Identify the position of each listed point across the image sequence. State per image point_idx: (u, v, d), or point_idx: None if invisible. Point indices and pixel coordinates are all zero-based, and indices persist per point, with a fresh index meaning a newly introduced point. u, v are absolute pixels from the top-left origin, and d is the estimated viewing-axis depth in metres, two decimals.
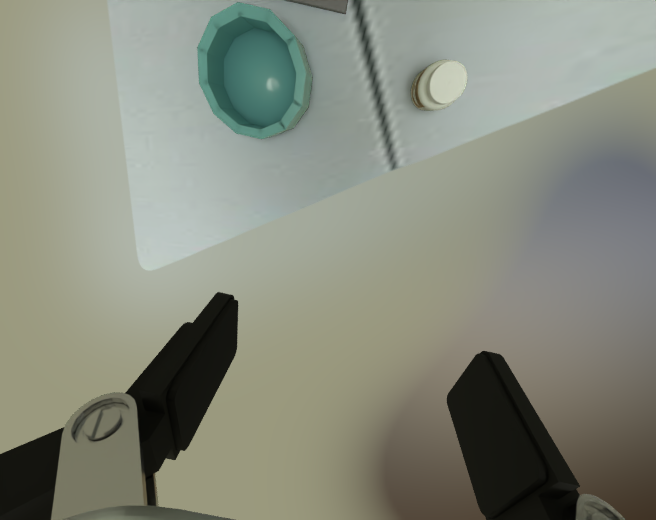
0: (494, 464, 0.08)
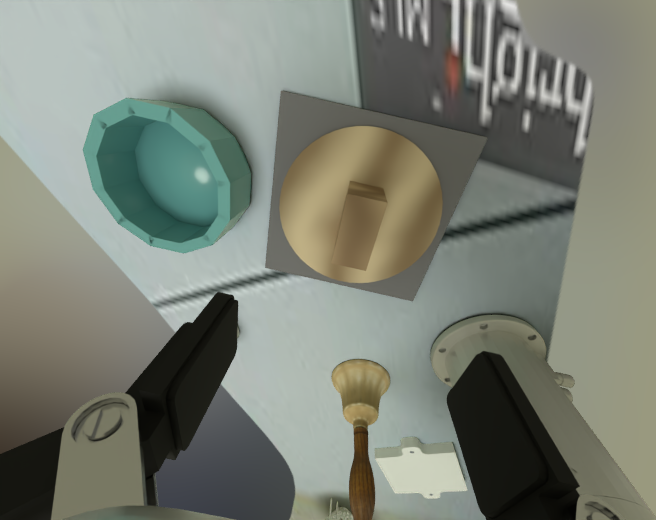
0: (494, 465, 0.08)
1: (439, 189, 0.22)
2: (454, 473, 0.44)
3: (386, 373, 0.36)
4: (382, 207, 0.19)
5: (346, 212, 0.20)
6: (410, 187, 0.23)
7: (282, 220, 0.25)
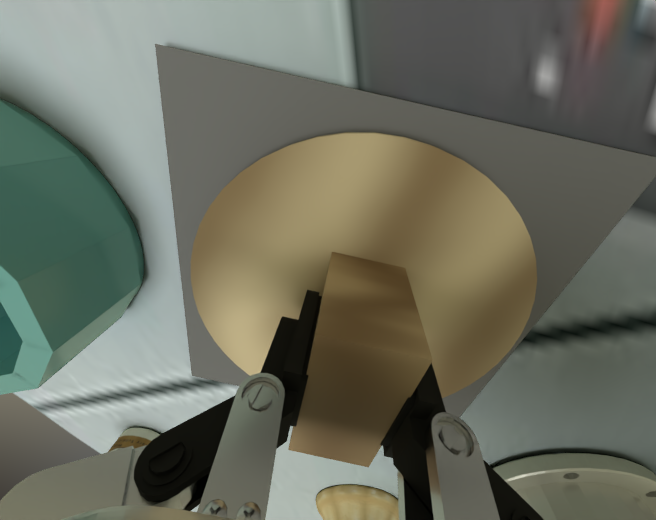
0: None
1: (532, 274, 0.10)
2: None
3: None
4: (417, 369, 0.07)
5: (316, 371, 0.07)
6: (466, 268, 0.10)
7: (203, 315, 0.13)
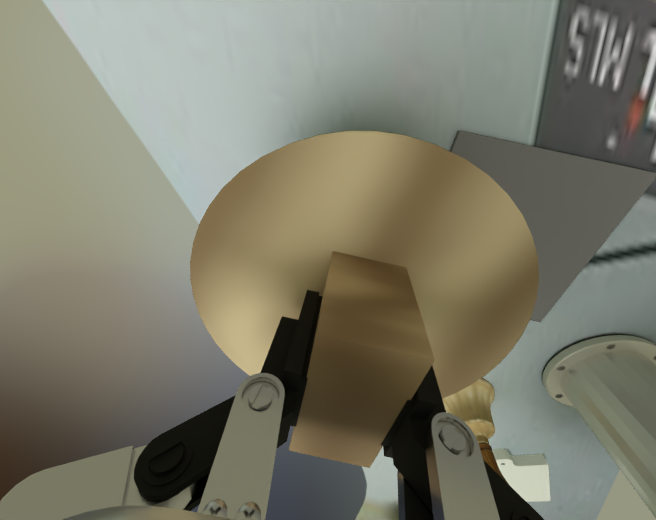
0: None
1: (534, 273, 0.10)
2: (541, 484, 0.45)
3: (493, 388, 0.36)
4: (418, 369, 0.07)
5: (317, 371, 0.07)
6: (468, 267, 0.10)
7: (203, 315, 0.13)
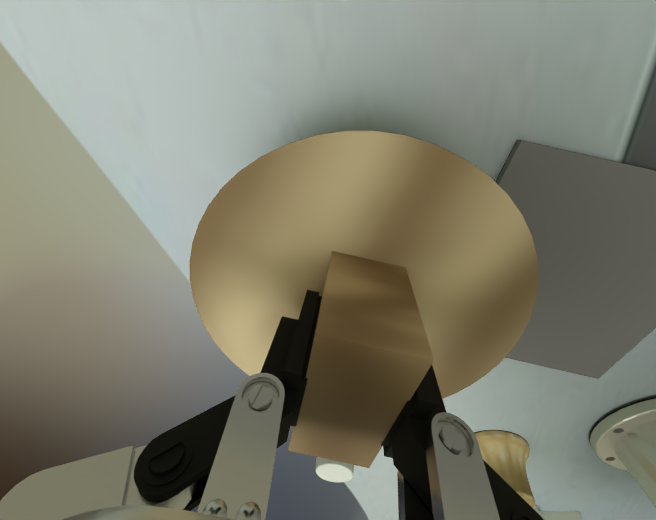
0: None
1: (534, 273, 0.10)
2: None
3: (528, 446, 0.30)
4: (418, 368, 0.07)
5: (315, 371, 0.07)
6: (467, 267, 0.10)
7: (203, 315, 0.13)
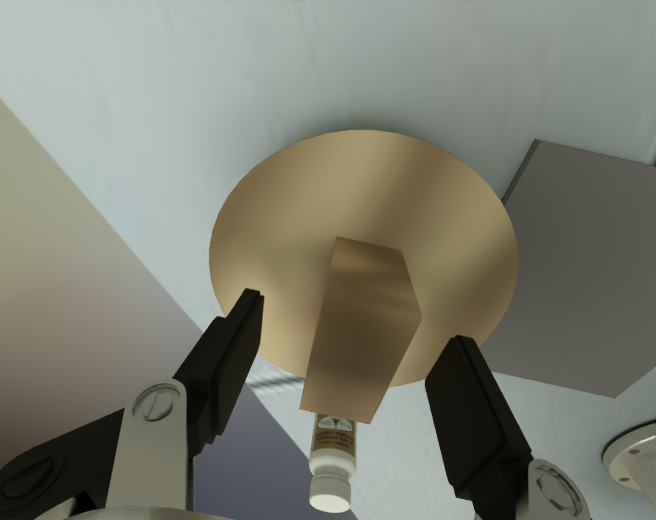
0: (460, 437, 0.08)
1: (514, 254, 0.11)
2: None
3: None
4: (409, 326, 0.08)
5: (324, 330, 0.08)
6: (455, 249, 0.11)
7: (219, 298, 0.14)
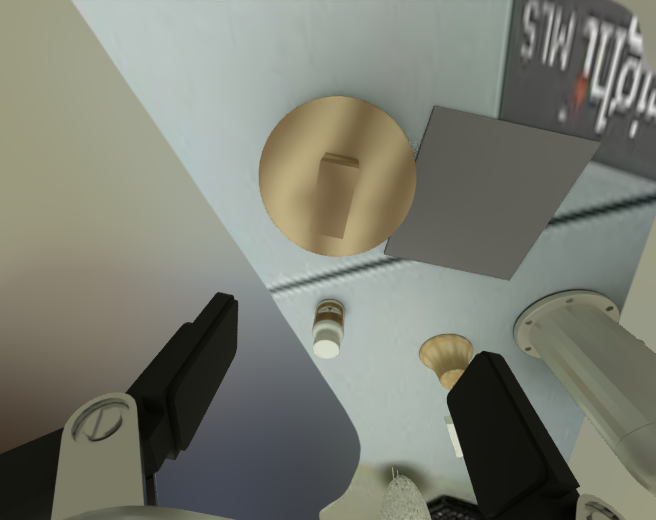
0: (493, 464, 0.08)
1: (412, 158, 0.23)
2: None
3: (471, 345, 0.41)
4: (354, 173, 0.20)
5: (320, 179, 0.20)
6: (384, 157, 0.23)
7: (262, 195, 0.26)
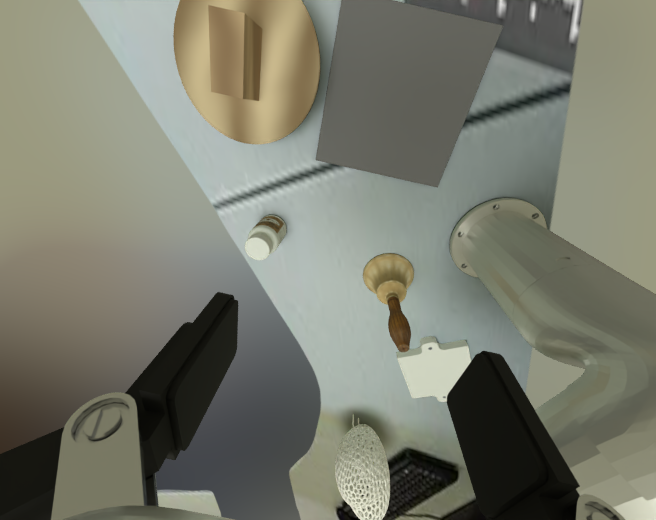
0: (494, 464, 0.08)
1: (311, 26, 0.24)
2: None
3: (411, 265, 0.42)
4: (241, 19, 0.21)
5: (211, 27, 0.22)
6: (286, 26, 0.25)
7: (180, 74, 0.27)
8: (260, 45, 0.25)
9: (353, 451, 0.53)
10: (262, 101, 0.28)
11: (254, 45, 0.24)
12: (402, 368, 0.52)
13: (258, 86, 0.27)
